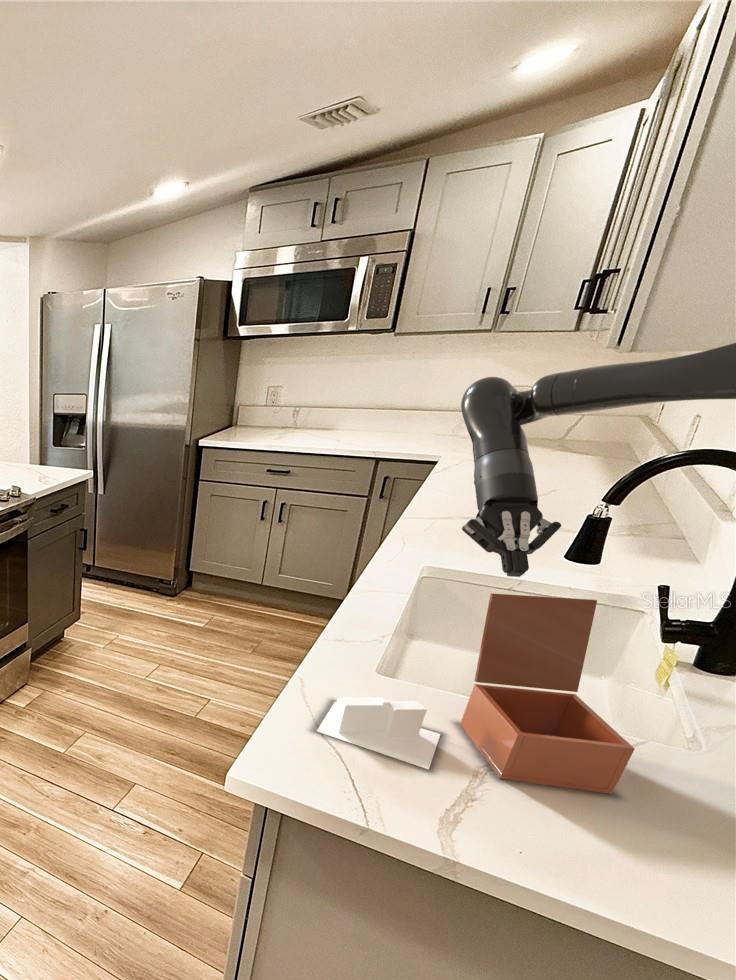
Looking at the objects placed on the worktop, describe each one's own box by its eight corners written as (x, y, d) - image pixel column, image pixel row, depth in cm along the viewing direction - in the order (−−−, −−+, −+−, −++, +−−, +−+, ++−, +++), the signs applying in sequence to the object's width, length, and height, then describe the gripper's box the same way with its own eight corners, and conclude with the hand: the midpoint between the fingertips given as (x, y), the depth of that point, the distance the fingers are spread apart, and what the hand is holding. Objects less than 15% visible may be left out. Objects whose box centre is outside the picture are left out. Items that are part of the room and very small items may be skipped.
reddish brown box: (611, 794, 84) (635, 748, 81) (499, 778, 88) (517, 734, 85) (556, 735, 96) (575, 693, 93) (459, 724, 100) (474, 683, 97)
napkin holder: (316, 731, 100) (323, 702, 98) (333, 701, 108) (340, 673, 105) (429, 770, 91) (440, 738, 88) (440, 733, 98) (451, 703, 96)
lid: (597, 600, 90) (594, 599, 91) (492, 593, 94) (490, 593, 94) (577, 692, 92) (574, 690, 93) (476, 682, 96) (474, 681, 97)
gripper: (468, 470, 104) (479, 563, 98) (567, 471, 99) (584, 568, 94) (447, 493, 110) (455, 581, 105) (538, 494, 106) (553, 586, 101)
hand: (516, 574), depth 99 cm, fingers closed
